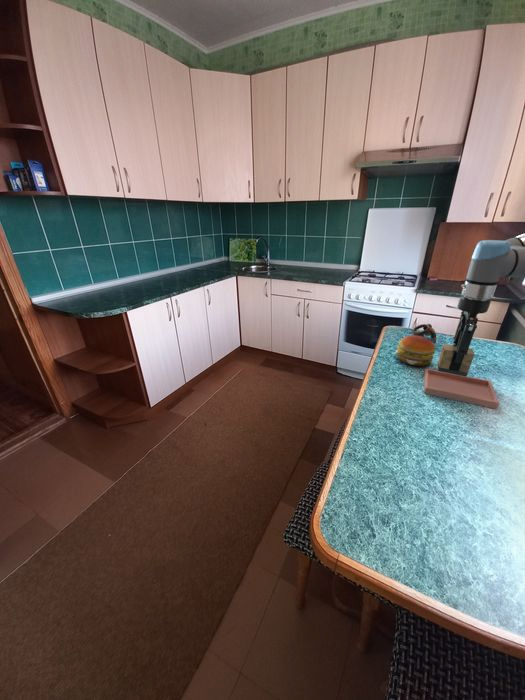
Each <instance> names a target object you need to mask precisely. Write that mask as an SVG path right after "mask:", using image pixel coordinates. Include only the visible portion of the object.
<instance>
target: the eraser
mask: <svg viewBox="0 0 525 700" xmlns="http://www.w3.org/2000/svg"><path fill="white" fill-rule="evenodd" d="M456 348H457V346H453V344H445V343H444V344H443V345H442V349H441V353H440V355H439V359H438V362H437V371H439V372H445V373H450V374H455V375H460V376H465V377H467V376H468V374H469V371H470V369H471V365H472V363H473V360H474V358H475V352H474V348H471V347H469V349H468V352H467V354H466V355H464V358H463V361H462V364H461V367H460V370H459V372H458V371H452V370H449V367H450V363H451V360H452V357H453V354H454V352H453V350H456Z"/></svg>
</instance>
